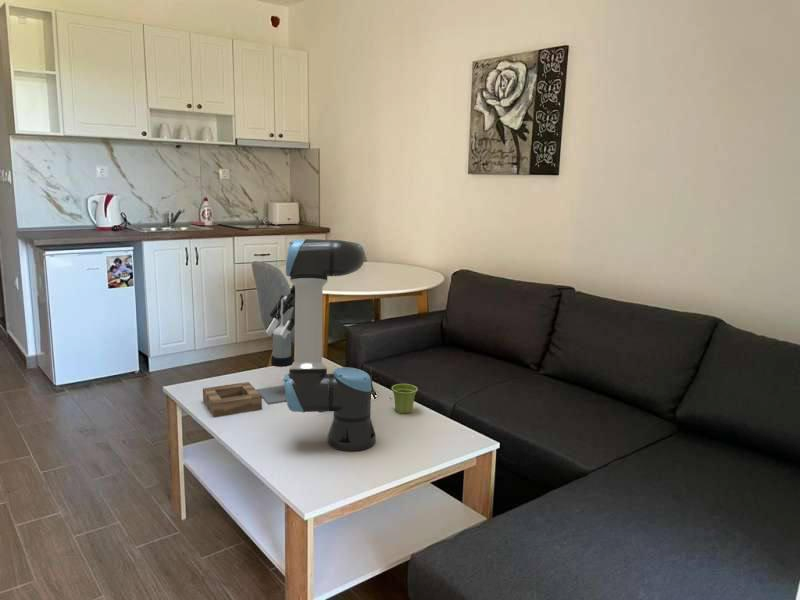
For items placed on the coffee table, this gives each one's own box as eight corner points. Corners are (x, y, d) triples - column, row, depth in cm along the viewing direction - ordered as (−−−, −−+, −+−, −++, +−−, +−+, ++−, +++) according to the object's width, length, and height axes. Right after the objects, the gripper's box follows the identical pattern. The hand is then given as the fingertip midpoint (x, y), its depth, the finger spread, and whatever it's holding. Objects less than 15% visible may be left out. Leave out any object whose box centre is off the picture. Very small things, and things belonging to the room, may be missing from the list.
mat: (309, 397, 223) (309, 396, 223) (268, 404, 215) (268, 402, 215) (295, 385, 236) (295, 383, 236) (255, 390, 228) (255, 389, 228)
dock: (261, 409, 210) (261, 396, 209) (213, 417, 202) (213, 403, 201) (248, 394, 225) (248, 381, 224) (203, 401, 216) (202, 388, 215)
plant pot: (417, 406, 217) (418, 384, 215) (415, 416, 208) (416, 393, 206) (392, 405, 218) (393, 383, 216) (389, 414, 208) (390, 391, 207)
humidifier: (295, 365, 222) (295, 300, 217) (274, 368, 218) (273, 302, 213) (289, 359, 229) (289, 297, 224) (268, 361, 225) (267, 298, 220)
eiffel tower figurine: (394, 400, 224) (395, 367, 221) (373, 406, 217) (374, 372, 215) (369, 390, 235) (370, 358, 232) (349, 395, 228) (349, 362, 225)
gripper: (327, 295, 227) (300, 344, 216) (288, 289, 236) (261, 336, 226) (318, 283, 221) (290, 333, 211) (279, 278, 231) (250, 326, 220)
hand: (275, 335), depth 218 cm, fingers closed on humidifier, 6 cm apart
